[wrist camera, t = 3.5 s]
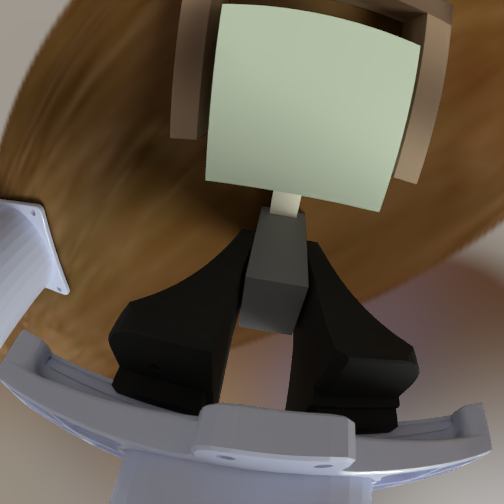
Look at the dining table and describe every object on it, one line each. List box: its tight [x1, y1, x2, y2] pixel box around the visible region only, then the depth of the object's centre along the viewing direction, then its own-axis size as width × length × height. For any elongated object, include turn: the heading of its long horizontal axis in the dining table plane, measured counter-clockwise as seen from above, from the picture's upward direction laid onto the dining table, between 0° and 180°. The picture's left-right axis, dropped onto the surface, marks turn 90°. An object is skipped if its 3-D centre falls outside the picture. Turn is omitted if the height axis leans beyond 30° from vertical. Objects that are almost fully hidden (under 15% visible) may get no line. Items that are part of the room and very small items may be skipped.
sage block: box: [205, 4, 420, 335], centre depth 9 cm, size 10×5×5 cm, turn 173°
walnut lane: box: [170, 0, 452, 184], centre depth 8 cm, size 8×9×2 cm
